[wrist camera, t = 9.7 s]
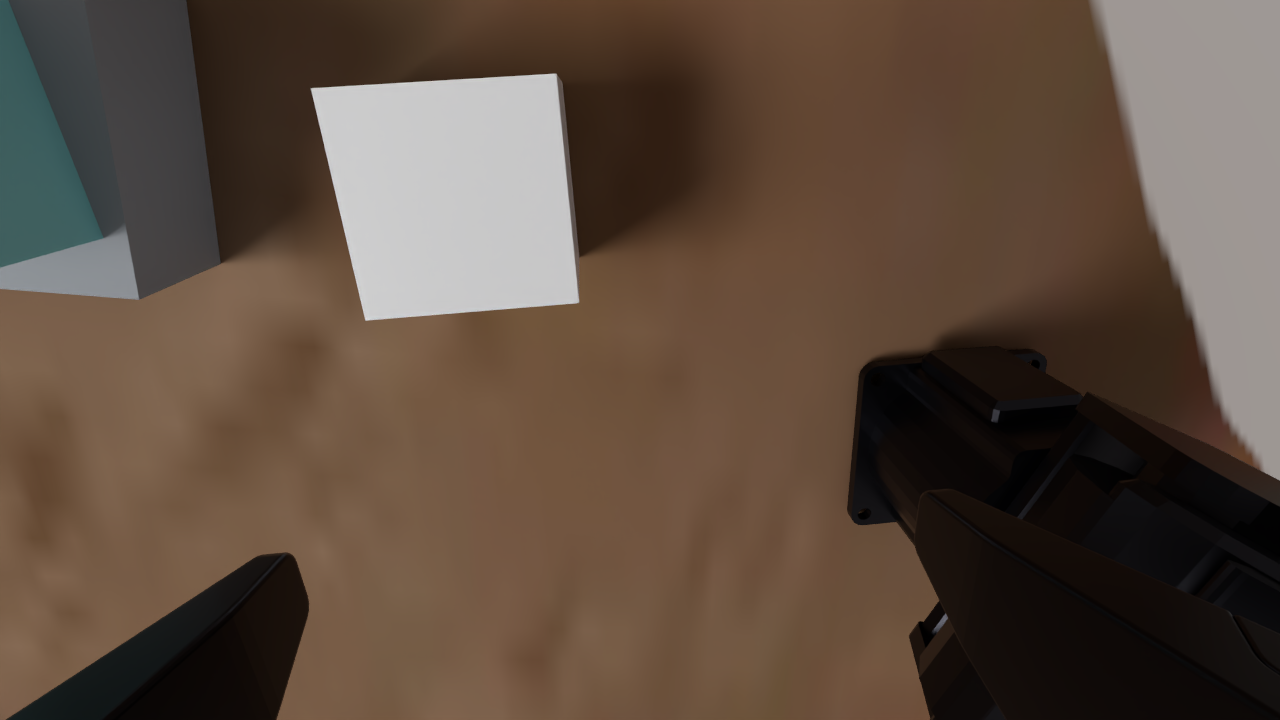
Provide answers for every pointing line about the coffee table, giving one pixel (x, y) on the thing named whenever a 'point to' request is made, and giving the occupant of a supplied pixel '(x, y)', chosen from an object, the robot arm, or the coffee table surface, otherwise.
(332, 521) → the coffee table surface
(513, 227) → the white block
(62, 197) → the teal block
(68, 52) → the slate base block
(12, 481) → the coffee table surface
